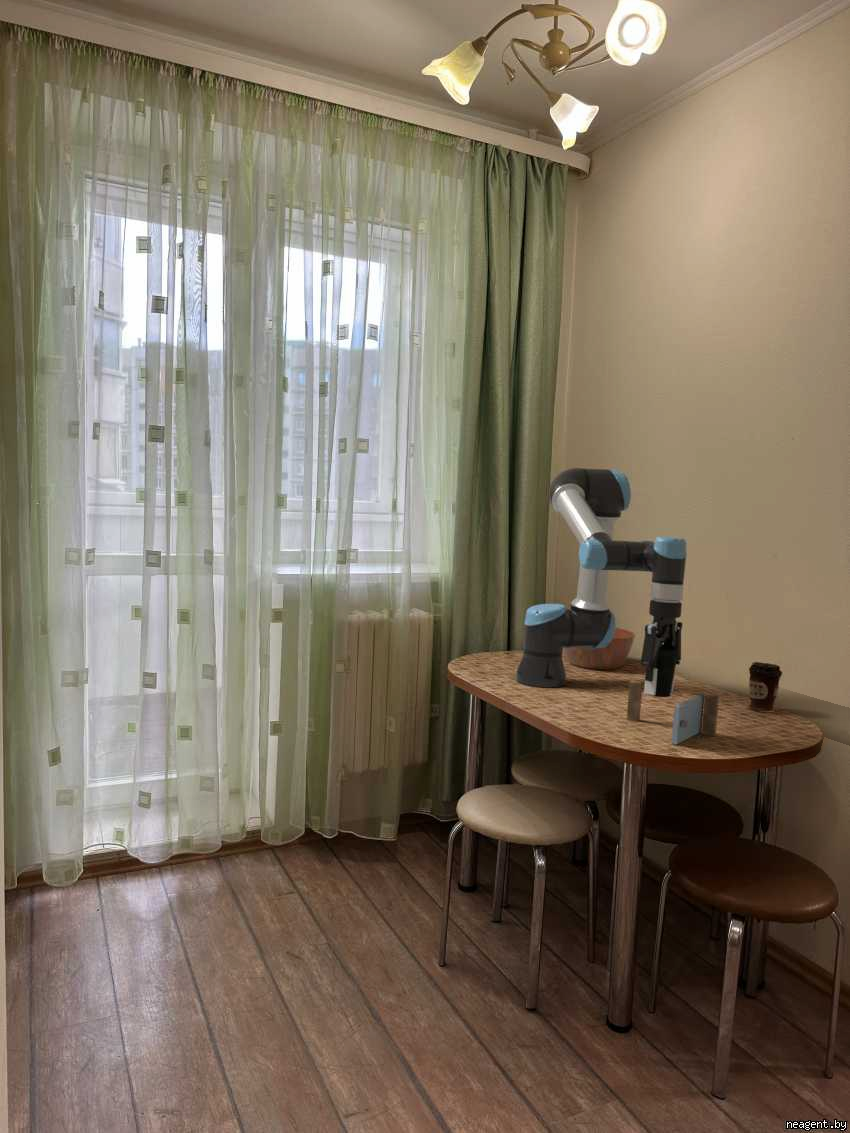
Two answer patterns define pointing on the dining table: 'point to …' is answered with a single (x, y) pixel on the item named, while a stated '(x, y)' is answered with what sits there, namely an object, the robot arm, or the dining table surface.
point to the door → (688, 719)
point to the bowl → (603, 652)
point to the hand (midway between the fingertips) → (658, 691)
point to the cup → (665, 671)
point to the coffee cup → (763, 686)
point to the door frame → (708, 713)
